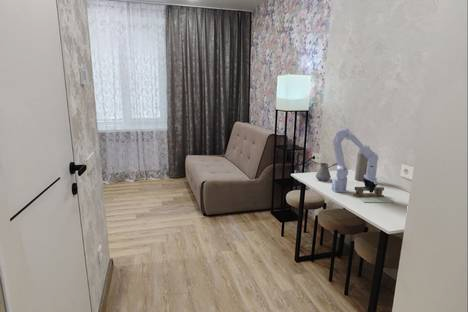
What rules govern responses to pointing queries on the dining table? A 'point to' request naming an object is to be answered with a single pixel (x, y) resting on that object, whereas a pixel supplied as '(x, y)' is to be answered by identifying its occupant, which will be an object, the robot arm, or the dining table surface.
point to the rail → (368, 188)
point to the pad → (376, 200)
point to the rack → (361, 194)
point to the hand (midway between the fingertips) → (369, 190)
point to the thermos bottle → (361, 166)
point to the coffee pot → (324, 172)
